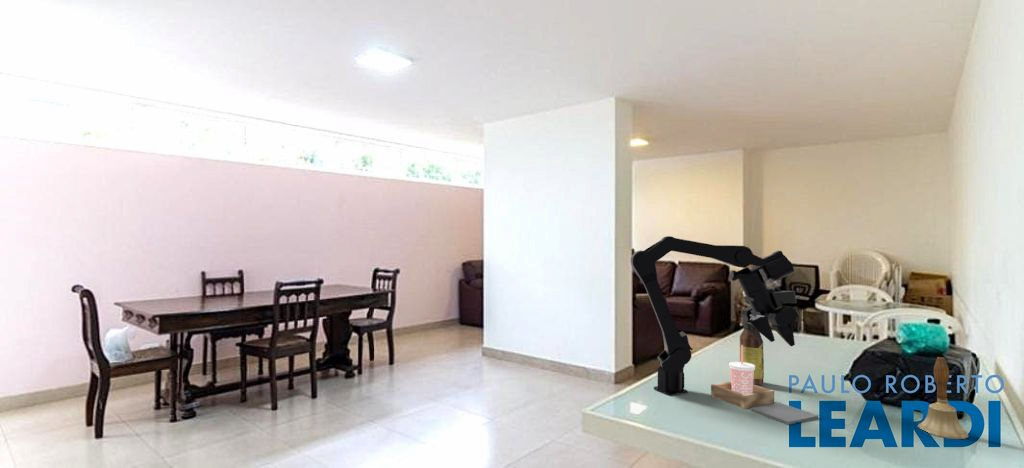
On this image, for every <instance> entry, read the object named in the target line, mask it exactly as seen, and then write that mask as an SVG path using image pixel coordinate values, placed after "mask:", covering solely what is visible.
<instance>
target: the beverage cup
mask: <svg viewBox="0 0 1024 468" xmlns="http://www.w3.org/2000/svg"><path fill="white" fill-rule="evenodd" d="M728 367H729V369H730V382H731V385H732V391H735V392H738V393H741V394H749V393H752V392H753V377H754V370H755V365H754V364H751V363H746V362H743V345H741V362H740V361H731V362H729V364H728Z"/></svg>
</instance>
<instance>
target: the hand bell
mask: <svg viewBox="0 0 1024 468" xmlns="http://www.w3.org/2000/svg"><path fill="white" fill-rule="evenodd" d="M933 377H934V381H935V383H936V390H937V391H936V402H934V403H930V404H929V405H928V410H927V414H926V417H925V419H924V420H922V422H919V423H918V425H917V428H918V427H919V428H920V429H922V430H924V431H926V432H928V433H929V434H928V433H927V434H928V435H931V436H935V437H940V438H944V439H951V440H965V439H967V438H969V433H968V432H967V431H966V430H965V429H963V427H962V426H961V423H960V421H959V419H958V414H957V410H956V408H955V407H954V406H952V405H950V404H949V402H948V391H947V387H948V383H949V379H950V369H949V366H948V363H947V361H946V358H945V357H944V356H943V357H942V356H937V358H936V360H935V363H934V366H933ZM919 428H918V429H919ZM920 429H919V430H920ZM922 430H921V431H922ZM924 431H923V432H924ZM926 432H925V433H926Z"/></svg>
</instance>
